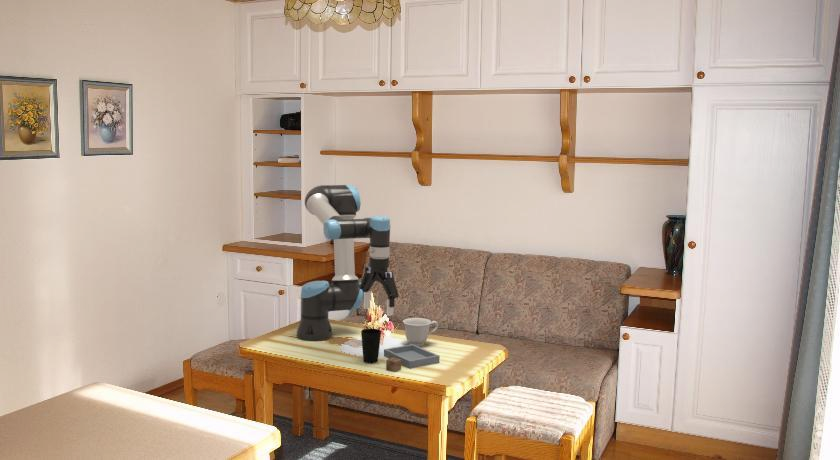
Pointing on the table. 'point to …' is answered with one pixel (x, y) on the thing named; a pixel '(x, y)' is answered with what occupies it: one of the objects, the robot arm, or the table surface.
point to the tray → (412, 355)
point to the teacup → (418, 330)
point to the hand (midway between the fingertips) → (378, 311)
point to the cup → (370, 345)
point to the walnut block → (393, 364)
